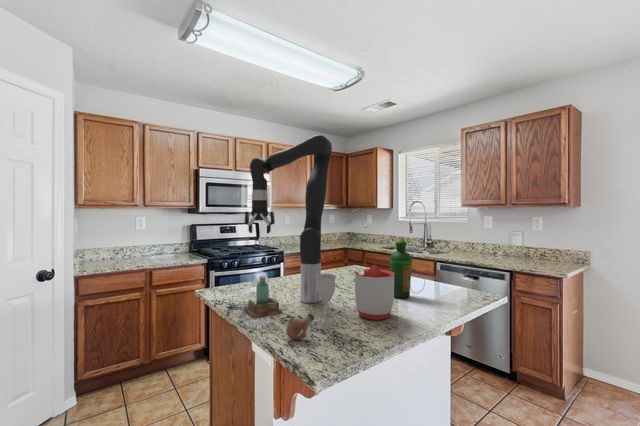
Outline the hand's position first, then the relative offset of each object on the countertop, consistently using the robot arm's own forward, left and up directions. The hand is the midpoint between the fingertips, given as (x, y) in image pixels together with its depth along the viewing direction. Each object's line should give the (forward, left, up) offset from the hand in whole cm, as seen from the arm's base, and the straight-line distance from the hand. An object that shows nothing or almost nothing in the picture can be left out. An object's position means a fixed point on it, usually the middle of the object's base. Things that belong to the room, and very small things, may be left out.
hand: (259, 233), depth 153 cm
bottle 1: (-9, +24, -29) cm, 39 cm away
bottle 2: (-68, -6, -30) cm, 75 cm away
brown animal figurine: (-29, +50, -30) cm, 65 cm away
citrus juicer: (-53, +23, -30) cm, 65 cm away
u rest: (-9, +24, -30) cm, 40 cm away
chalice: (-36, +38, -30) cm, 60 cm away
